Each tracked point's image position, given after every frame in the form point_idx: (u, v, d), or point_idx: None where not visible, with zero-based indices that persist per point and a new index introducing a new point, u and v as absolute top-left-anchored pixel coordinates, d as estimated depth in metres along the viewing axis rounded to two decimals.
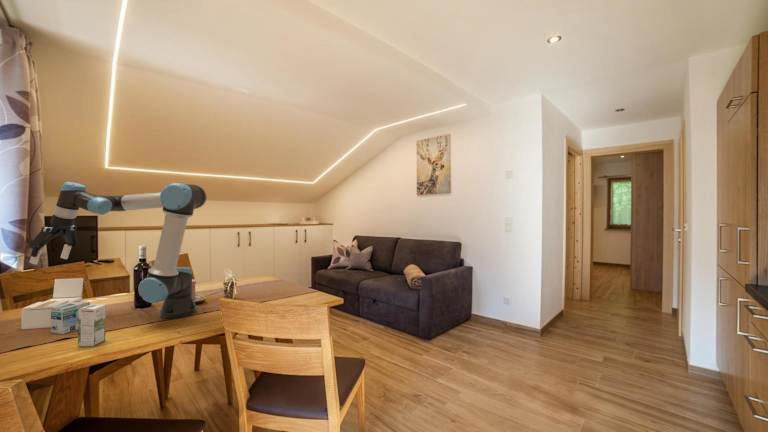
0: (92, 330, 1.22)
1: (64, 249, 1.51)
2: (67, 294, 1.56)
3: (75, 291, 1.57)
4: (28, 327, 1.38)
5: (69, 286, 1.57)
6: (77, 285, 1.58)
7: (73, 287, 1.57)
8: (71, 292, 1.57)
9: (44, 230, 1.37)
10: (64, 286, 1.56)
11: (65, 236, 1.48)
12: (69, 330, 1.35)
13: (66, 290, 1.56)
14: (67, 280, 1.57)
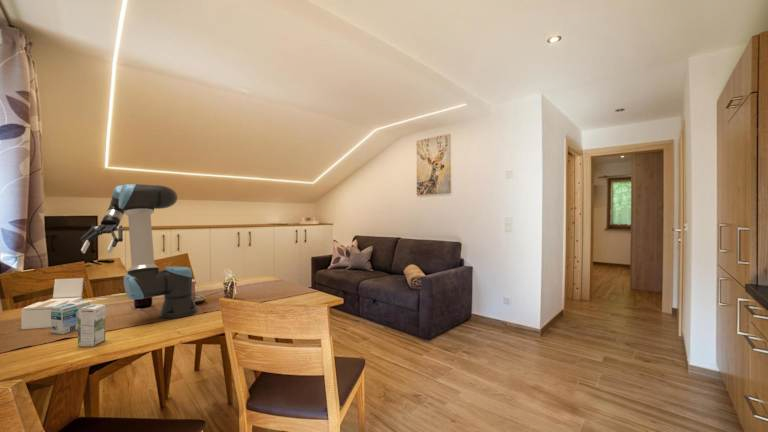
0: (92, 330, 1.22)
1: None
2: (67, 294, 1.56)
3: (75, 291, 1.57)
4: (28, 327, 1.38)
5: (69, 286, 1.57)
6: (77, 285, 1.58)
7: (73, 287, 1.57)
8: (71, 292, 1.57)
9: None
10: (64, 286, 1.56)
11: (111, 233, 1.74)
12: (69, 330, 1.35)
13: (66, 290, 1.56)
14: (67, 280, 1.57)
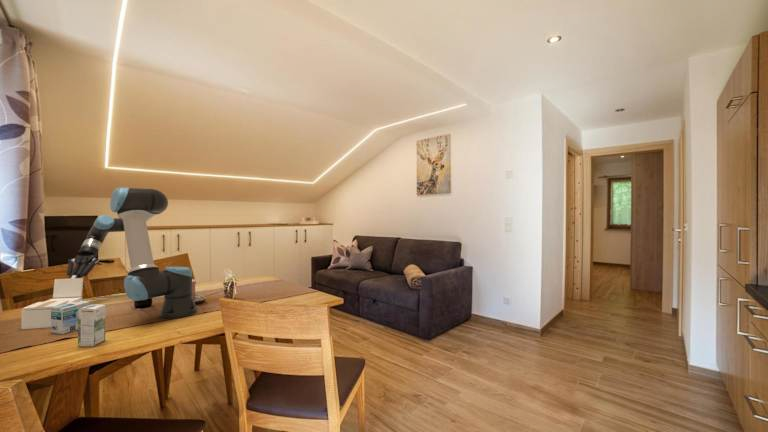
0: (92, 330, 1.22)
1: None
2: (67, 294, 1.56)
3: (75, 291, 1.57)
4: (28, 327, 1.38)
5: (69, 286, 1.57)
6: (77, 285, 1.58)
7: (73, 287, 1.57)
8: (71, 292, 1.57)
9: None
10: (64, 286, 1.56)
11: None
12: (69, 330, 1.35)
13: (66, 290, 1.56)
14: (67, 280, 1.57)
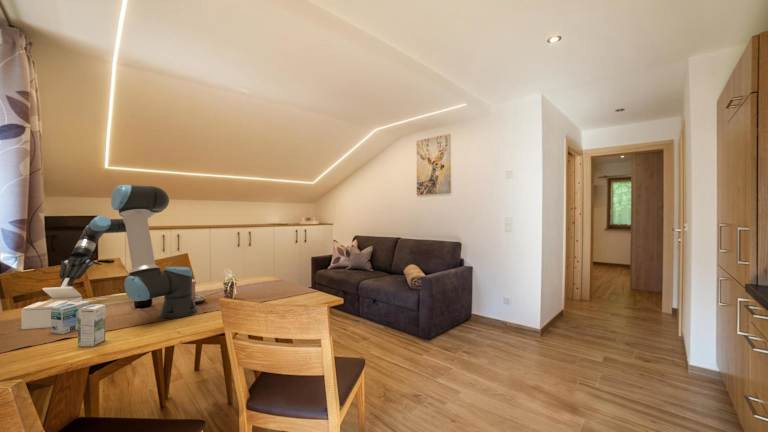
0: (92, 330, 1.22)
1: None
2: (65, 296, 1.55)
3: (72, 294, 1.55)
4: (28, 327, 1.38)
5: (62, 292, 1.52)
6: (70, 291, 1.53)
7: (67, 292, 1.53)
8: (68, 295, 1.55)
9: (62, 264, 1.61)
10: (57, 292, 1.52)
11: None
12: (69, 330, 1.35)
13: (62, 294, 1.53)
14: (56, 289, 1.50)
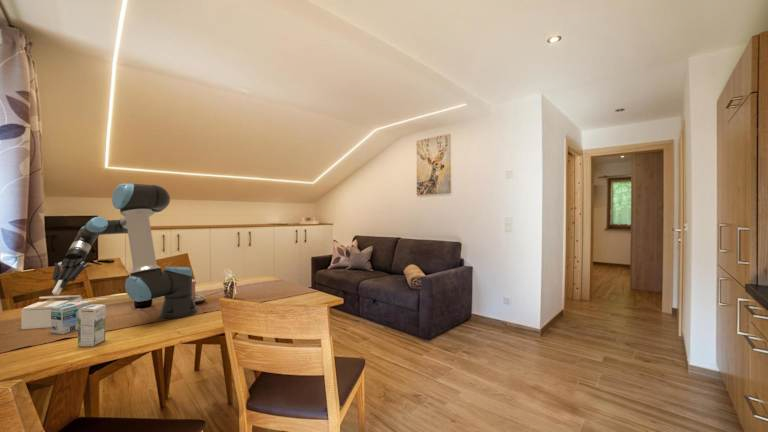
0: (92, 330, 1.22)
1: None
2: None
3: None
4: (28, 327, 1.38)
5: None
6: None
7: None
8: None
9: None
10: None
11: None
12: (69, 330, 1.35)
13: None
14: (54, 297, 1.48)
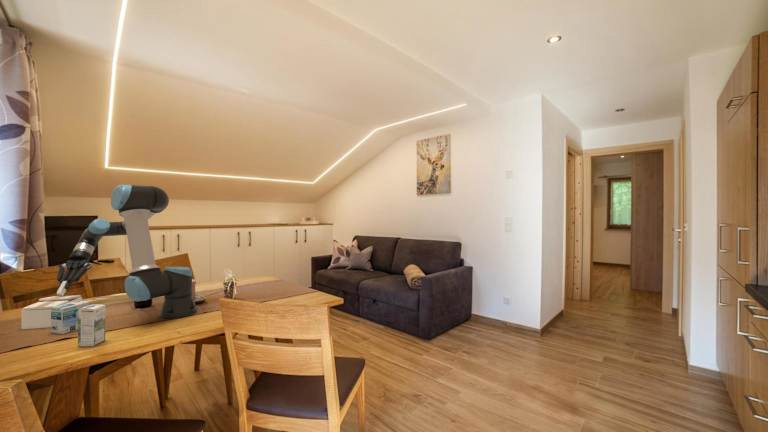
0: (92, 330, 1.22)
1: None
2: None
3: None
4: (28, 327, 1.38)
5: None
6: None
7: None
8: None
9: None
10: None
11: None
12: (69, 330, 1.35)
13: None
14: (54, 299, 1.48)
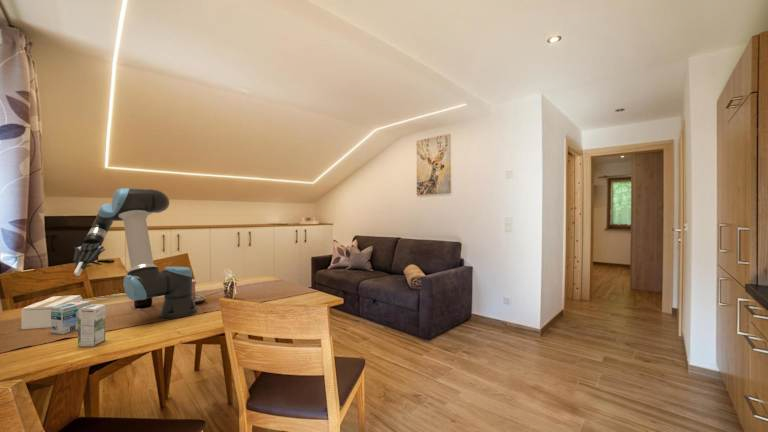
0: (92, 330, 1.22)
1: None
2: None
3: None
4: (28, 327, 1.38)
5: None
6: None
7: None
8: None
9: None
10: None
11: None
12: (69, 330, 1.35)
13: None
14: None
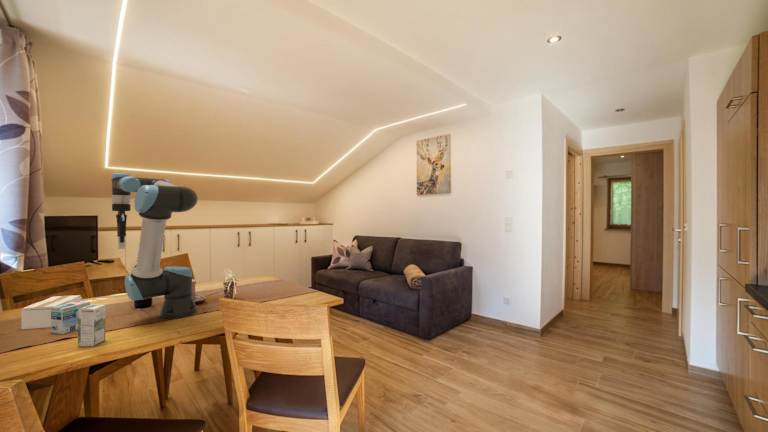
0: (92, 330, 1.22)
1: None
2: None
3: None
4: (28, 327, 1.38)
5: None
6: None
7: None
8: None
9: None
10: None
11: None
12: (69, 330, 1.35)
13: None
14: None
